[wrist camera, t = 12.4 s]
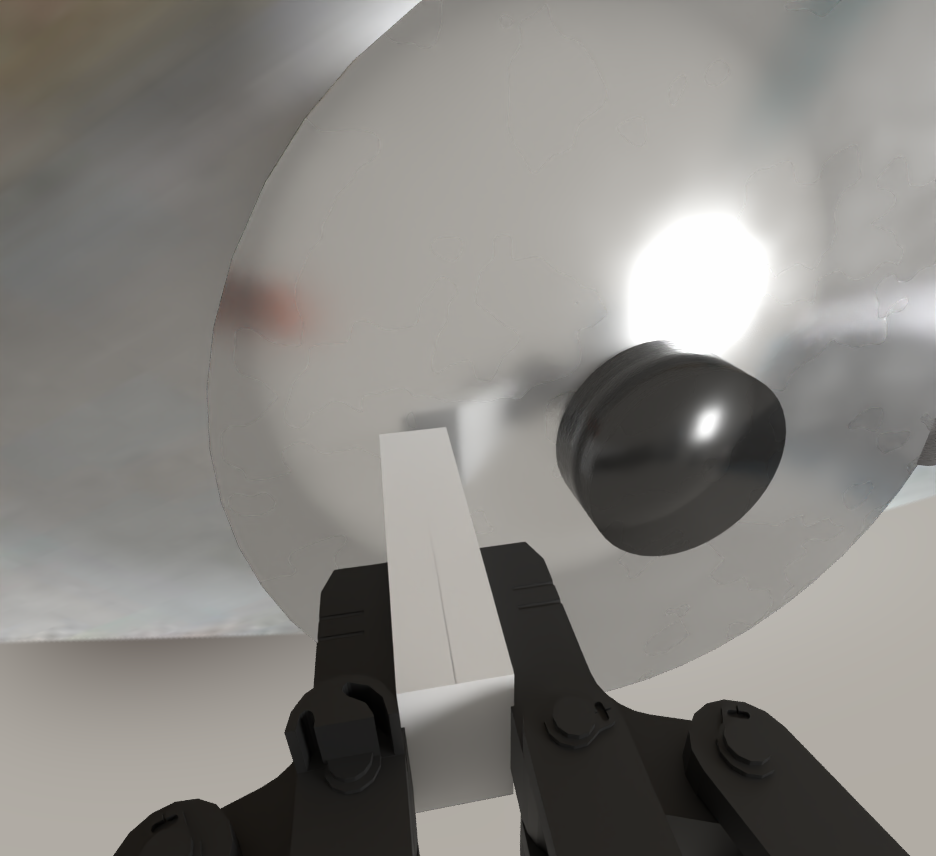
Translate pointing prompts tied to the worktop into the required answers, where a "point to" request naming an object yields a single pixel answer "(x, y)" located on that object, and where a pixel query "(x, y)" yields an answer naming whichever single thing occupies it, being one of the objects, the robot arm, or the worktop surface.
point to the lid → (597, 304)
